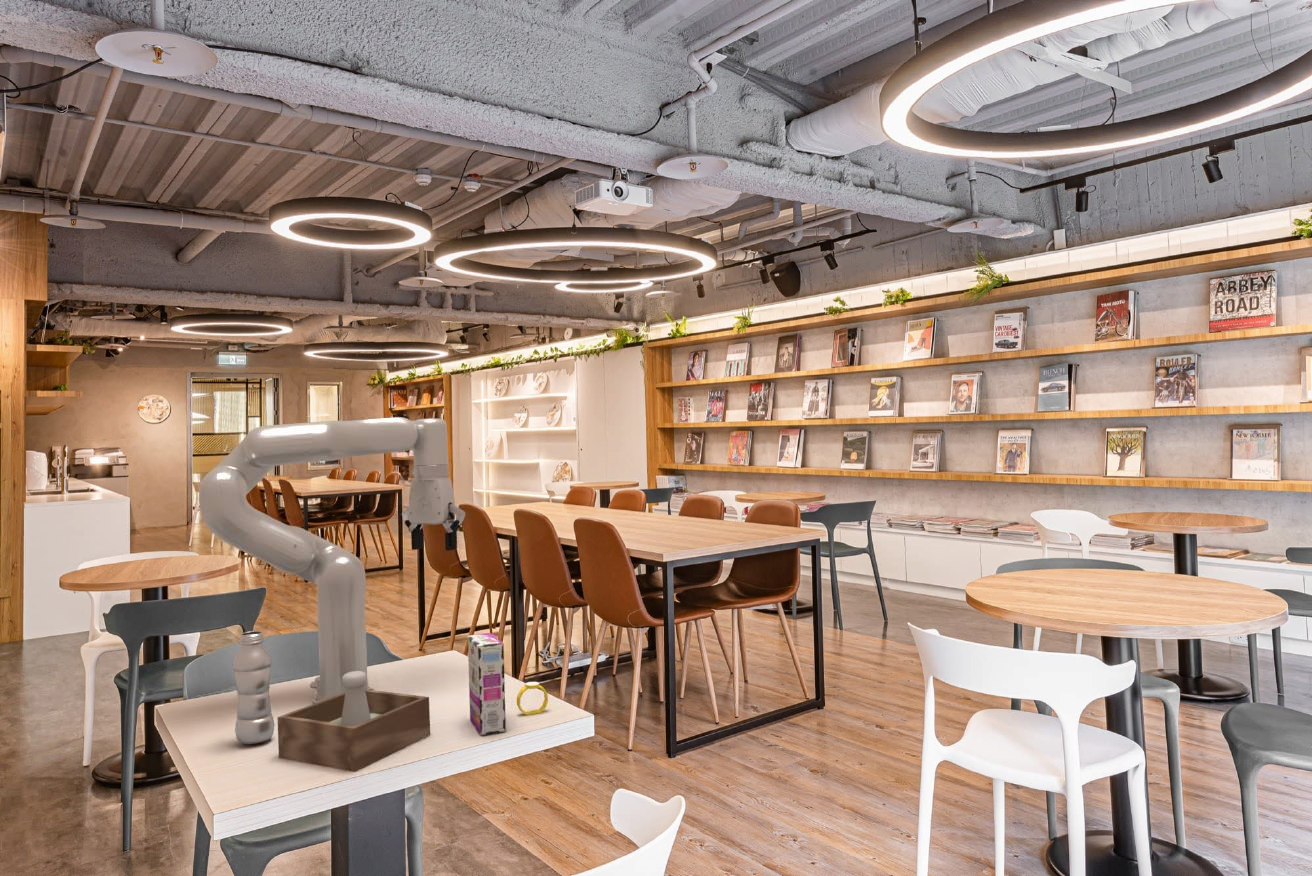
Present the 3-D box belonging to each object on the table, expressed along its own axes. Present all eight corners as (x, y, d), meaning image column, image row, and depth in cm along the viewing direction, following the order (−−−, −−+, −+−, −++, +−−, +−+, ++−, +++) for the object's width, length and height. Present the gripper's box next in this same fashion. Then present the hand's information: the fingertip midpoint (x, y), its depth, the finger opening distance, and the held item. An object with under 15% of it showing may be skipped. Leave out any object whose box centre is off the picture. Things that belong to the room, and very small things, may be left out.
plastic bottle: (249, 751, 147) (245, 638, 147) (227, 745, 150) (224, 635, 151) (282, 739, 152) (278, 631, 153) (260, 734, 156) (257, 628, 156)
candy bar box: (508, 732, 151) (504, 642, 152) (480, 737, 149) (477, 646, 150) (494, 715, 162) (491, 631, 162) (469, 719, 160) (466, 634, 160)
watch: (544, 710, 164) (545, 680, 165) (548, 714, 162) (549, 683, 162) (515, 713, 162) (516, 682, 162) (518, 717, 159) (519, 686, 160)
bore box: (278, 757, 143) (277, 717, 143) (357, 724, 159) (356, 688, 159) (355, 771, 135) (354, 728, 135) (430, 735, 151) (428, 697, 151)
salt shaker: (361, 752, 144) (359, 677, 144) (332, 750, 145) (330, 676, 145) (379, 740, 150) (377, 668, 150) (351, 739, 151) (349, 668, 151)
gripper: (390, 475, 186) (393, 551, 186) (451, 473, 178) (453, 552, 178) (413, 473, 193) (416, 546, 192) (473, 471, 185) (475, 548, 185)
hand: (434, 549), depth 185 cm, fingers open, 9 cm apart
